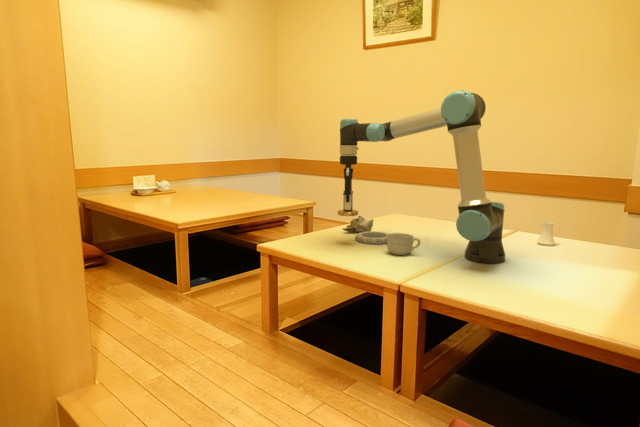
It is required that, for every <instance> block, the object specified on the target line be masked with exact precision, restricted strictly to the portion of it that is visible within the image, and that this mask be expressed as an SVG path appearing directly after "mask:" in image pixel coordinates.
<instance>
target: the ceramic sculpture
mask: <svg viewBox="0 0 640 427" xmlns="http://www.w3.org/2000/svg"><path fill="white" fill-rule="evenodd" d="M373 226H374V219H373V218H372V219H368V220H367V219H365V218H364V217H363V216H361V215H359V216H357V217H355V218H353V219H351V221H350V222H349V224H346V227H345V228H342V230H343V231H345V232H347V233H352V232H354V233H362V232H370V231H371V232H372V228H373Z"/></svg>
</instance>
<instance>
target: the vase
mask: <svg viewBox="0 0 640 427" xmlns="http://www.w3.org/2000/svg"><path fill="white" fill-rule="evenodd" d="M554 225H555V223H554V222H552V221H541V232H540V236H539V238H538V239H537V241H536V244H537V245H539V246H543V247H555V246H556V241H555V239H554Z"/></svg>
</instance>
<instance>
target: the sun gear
mask: <svg viewBox="0 0 640 427" xmlns="http://www.w3.org/2000/svg"><path fill="white" fill-rule="evenodd" d="M344 192H345V190H343V193H344ZM353 196H354V191H353V190H352V191H351V210H345V195H343V200H342V201H343V207H342V209H341V210H337V215H338V216H340V217H355V216H358V215H359V211H358V210H355V209H353V205H354V204H353V202H354V201H353V200H354V199H353V198H354V197H353Z"/></svg>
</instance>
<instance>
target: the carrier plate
mask: <svg viewBox="0 0 640 427" xmlns="http://www.w3.org/2000/svg"><path fill="white" fill-rule="evenodd" d="M387 234H389V233H388V232H384V231H377V230H375V231H373V230H371V231H370V232H365V231H363V232H358V233H357V234H356V235H355V237H354V240H355V241H356V243H360V244H363V245H371V246H373V245H375V246H376V245H378V246H380V245H387Z"/></svg>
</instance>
